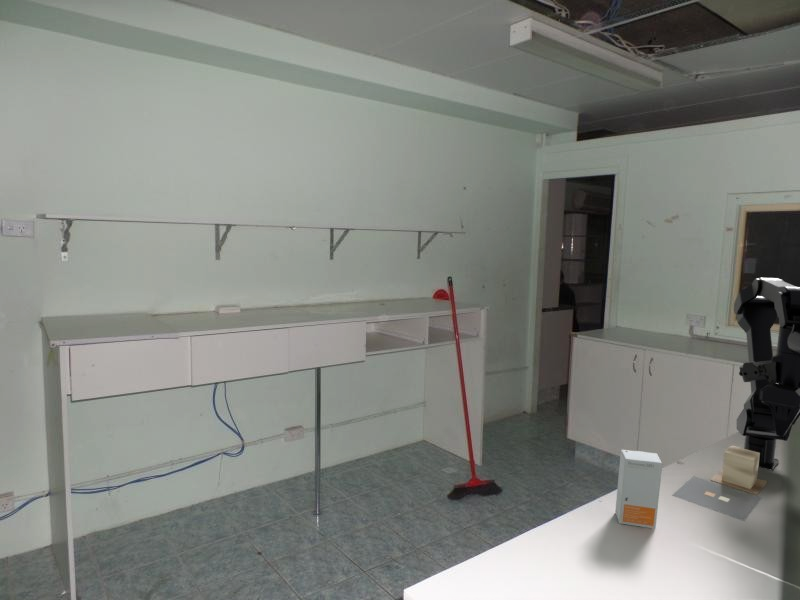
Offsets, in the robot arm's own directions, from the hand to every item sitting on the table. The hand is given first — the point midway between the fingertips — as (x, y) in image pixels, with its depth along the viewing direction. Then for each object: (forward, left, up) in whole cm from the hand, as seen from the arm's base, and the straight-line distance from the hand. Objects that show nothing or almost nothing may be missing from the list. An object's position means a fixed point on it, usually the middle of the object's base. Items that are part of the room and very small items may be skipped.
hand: (785, 429), depth 104 cm
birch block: (+3, -6, -12) cm, 14 cm away
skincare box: (+34, -14, -12) cm, 39 cm away
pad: (+3, -6, -12) cm, 14 cm away
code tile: (+14, -7, -12) cm, 20 cm away
